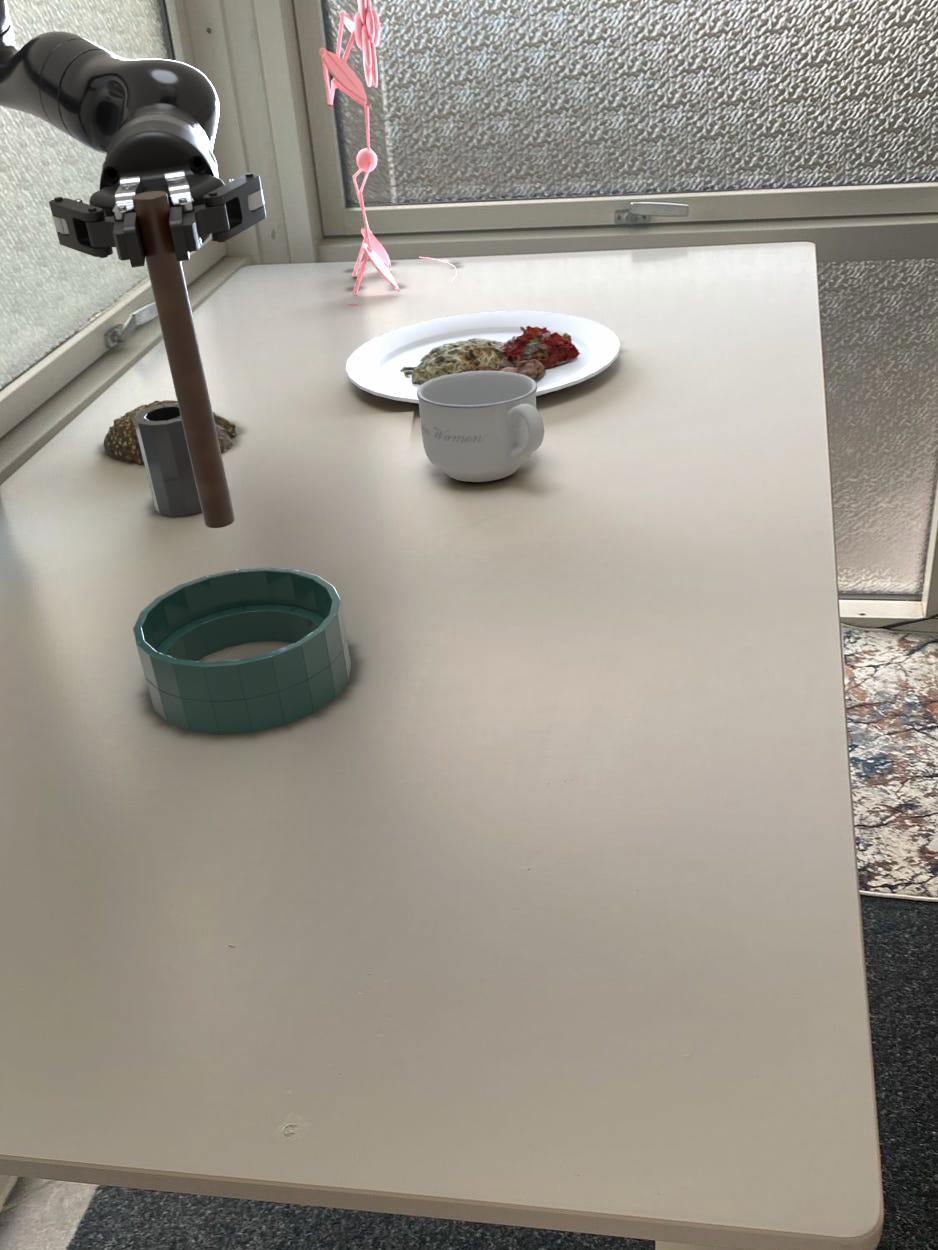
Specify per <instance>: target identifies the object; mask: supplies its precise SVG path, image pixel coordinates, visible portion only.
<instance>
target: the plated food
mask: <svg viewBox="0 0 938 1250" xmlns="http://www.w3.org/2000/svg"><path fill="white" fill-rule="evenodd" d="M620 349H621V342H620V340H619V337H618V335H617V334H616V333H615V332H614V331H612V329H610V328H609V327H608V326H605V325H603V324H601V323H599V322H597V321H594V320H591V319H588V318H584V317H581V316H577V315H576V316H575V315H570V314H566V313H560V312H559V313H558V312H548V311H547V312H546V311H537V310H535V311H534V310H499V311H497V310H496V311H482V312H481V311H480V312H473V313H463V314H457V315H449V316H443V317H437V318H434V319H428V320H424V321H423V320H422V321H418V322H416V323H412V324H407V325H405V326H401V327H399V328H398V327H397V328H395V329H392V330H390V331H388V332H385V333H382V334H380V335H378V336H376V337H374V338H372V339H370V340H368V341H367V342H365V343H363V344H362V345H360V346H359V347H357V348H356V350H354V351H353V352H352V353H351V354H350V356H349V357H348V359H347V360H346V364H345V365H346V366H345V374H346V375H347V378H348V379H349V381H350V382H351V383H352V385H354V386H355V387H357V388H358V389H360V390H361V391H364V392H367V393H368V394H372V395H374V396H377V397H381V398H384V399H389V400H393V401H398V402H406V403H411V404H412V403H414V404H419V399H418V397H417V389H418V388H419V386H421V385H422V384H423V383H425V382H427V381H429V380H431V379H434V378H437V377H440V376H443V375H449V374H455V373H462V372H470V371H504V372H513V373H518V374H522V375H525V376H528V377H530V378H531V379H533V380H534V381H535V382H536V384H537V391H536V398H537V397H541V396H543V395H546V394H549V393H552V392H557V391H560V390H562V389H565V388H568V387H572V386H574V385H578V384H580V383H582V382H585V381H587V380H589V379H591V378H593V377H595V376H597V375H600V374H601V373H602V372H603V371H605V370H606V369H608V368H610V366H612V364H613V363H614V362H615V361H616V360H617V358H618V357H619V355H620V351H621V350H620Z"/></svg>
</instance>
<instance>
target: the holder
mask: <svg viewBox="0 0 938 1250" xmlns="http://www.w3.org/2000/svg"><path fill="white" fill-rule="evenodd" d="M134 424H135V428H136V432H137V436H138V440H139V444H140V449H141V453H142V457H143V461H144V464H143V465H144V469H145V473H146V478H147V481H148V485H149V490H150V494H151V497H152V498H151V499H152V502H153V507H154V509H155V511H156V512H157V514H159V515H160V516H163V517H166V518H185V517H191V516H196V515H199V514H201V513H202V509H201V505H200V500H199V496H198V491H197V487H196V482H195V478H194V473H193V469H192V464H191V460H190V455H189V451H188V446H187V442H186V438H185V433H184V429H183V424H182V420H181V415H180V411H179V406H178V403H167V404H160V405H156V406H152V407H148V408H147V409H145V410H143V411H141V412H139V413H137V414H136V416H135V418H134ZM202 514H203V513H202Z"/></svg>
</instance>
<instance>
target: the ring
mask: <svg viewBox="0 0 938 1250" xmlns="http://www.w3.org/2000/svg"><path fill="white" fill-rule="evenodd" d="M132 631H133V636H134V641H135V645H136V648H137V652H138V655H139V656H138V657H139V659H140V663H141V667H142V670H143V673H144V678H145V682H146V687H147V690H148V693H149V696H150V701H151V705H152V708H153V710H154V711H155V712H156V713H157V714H158V715H159V716H160V717H161V718H162V719H163V720H164V721H165V722H167V723H169V724H171V725H174V726H176V727H179V728H181V729H184V730H187V731H188V732H189V731H190V732H195V733H202V734H203V733H204V734H212V735H232V734H235V735H236V734H249V733H256V732H262V731H265V730H268V729H273V728H279V727H282V726H287V725H289V724H291V723H294V722H296V721H298V720H301V719H303V718H305V717H308V716H311V715H313V714H314V713H316V712H317V711H318V710H319V711H320V709H322V708H323V707H325V706H326V705H327V704H329V703H330V702H332V701H334V700H335V699H336V698H337V697H338V696H339V694H340V693H341V692H342V690H343V689H344V688H345V686H347V684H348V682H349V680H350V674H351V668H352V661H351V655H350V650H349V644H348V636H347V633H346V632H347V630H346V625H345V619H344V611H343V605H342V600H341V598H340V596H339V594H338V591H337V590H336V588H335V586H334V585H333V584H331V583H330V582H328V581H326V580H325V579H323V578H322V577H321V576H319V575H317V574H313V573H309V572H306V571H303V570H299V569H295V568H284V567H283V568H282V567H271V566H268V567H267V566H264V567H263V566H262V567H250V568H249V567H248V568H238V569H237V568H236V569H232V570H226V571H223V572H217V573H213V574H208V575H205V576H201V577H199V578H196V579H193V580H190V581H187V582H184V583H181V584H179V585H177V586H175V587H173V588H172V589H170V590H168V591H166V592H165V593H163V594H161V595H159V596H158V597H156V598H154V599H153V600H152V601H151V602H150V603H149V604H148V605H147V606H146V607H145V608H144V609H143V610H141V611H140V612H139V614H138V617H137V618H136V621H135V623H134V626H133V627H132ZM262 642H263V643H265V642H266V643H267V642H281V643H289V645H286V646H283V647H280V648H279V649H276V650H273V651H271V652H268V653H263V654H259V655H258V654H257V655H253V656H249V657H245V658H240V659H233V660H232V659H231V660H219V661H200V660H203V658H205V657H207V656H209V655H212V654H214V653H217V652H220V651H222V650H224V649H228V648H231V647H236V646H241V645H246V644H251V643H262ZM290 643H292V644H290Z"/></svg>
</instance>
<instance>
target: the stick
mask: <svg viewBox="0 0 938 1250" xmlns="http://www.w3.org/2000/svg"><path fill="white" fill-rule="evenodd" d="M132 201H133V205H134V210H135V214H136V216H137V221H138V225H139V230H140V234H141V239H142V243H143V248H144V252H145V262H146V267H147V271H148V276H149V281H150V285H151V289H152V290H151V291H152V294H153V299H154V304H155V307H156V311H157V317H158V321H159V325H160V331H161V335H162V339H163V344H164V348H165V352H166V357H167V361H168V366H169V371H170V374H171V379H172V384H173V388H174V393H175V397H176V401H177V402H178V406H179V411H180V415H181V420H182V424H183V429H184V433H185V438H186V442H187V446H188V451H189V455H190V460H191V464H192V469H193V473H194V478H195V482H196V487H197V491H198V496H199V500H200V505H201V509H202V517H203V522H204V525H205V526H206V528H210V529H220V528H225V527H228V526H231V525H232V524H233V523H234V522H235V520H236V518H235V513H234V508H233V504H232V498H231V494H230V489H229V484H228V480H227V475H226V471H225V465H224V461H223V456H222V455H223V454H222V453H221V450H220V445H219V441H218V436H217V431H216V426H215V422H214V417H213V412H214V411H213V407H212V403H211V398H210V392H209V389H208V383H207V379H206V374H205V369H204V365H203V364H204V363H203V359H202V356H201V355H202V354H201V350H200V345H199V341H198V336H197V332H196V331H197V330H196V325H195V322H194V318H193V317H194V316H193V312H192V307H191V303H190V297H189V292H188V288H187V283H186V277H185V273H184V268H183V264H182V261H179V262H178V261H177V258H176V253H175V249H174V244H173V239H172V234H171V230H170V224H169V213H170V206H169V201H168V196H167V193H166V192H164V191H150V192H144V193H140V194H137V195H134V196H133V197H132Z"/></svg>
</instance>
